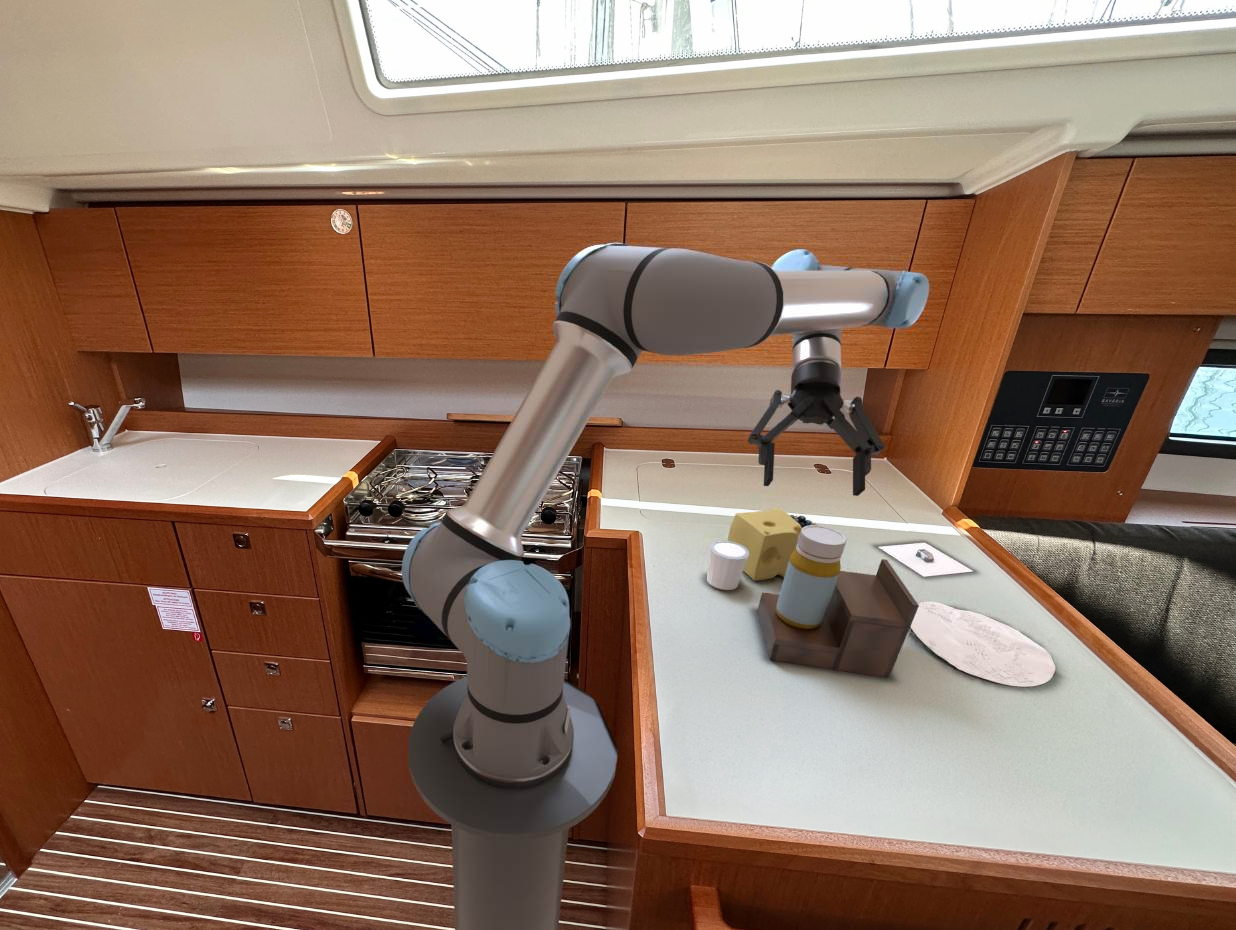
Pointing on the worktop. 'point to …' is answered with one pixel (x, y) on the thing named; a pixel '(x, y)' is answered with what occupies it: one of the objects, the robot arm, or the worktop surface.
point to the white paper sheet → (925, 559)
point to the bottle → (811, 577)
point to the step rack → (847, 625)
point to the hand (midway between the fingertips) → (813, 487)
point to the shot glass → (726, 564)
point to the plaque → (982, 646)
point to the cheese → (766, 541)
